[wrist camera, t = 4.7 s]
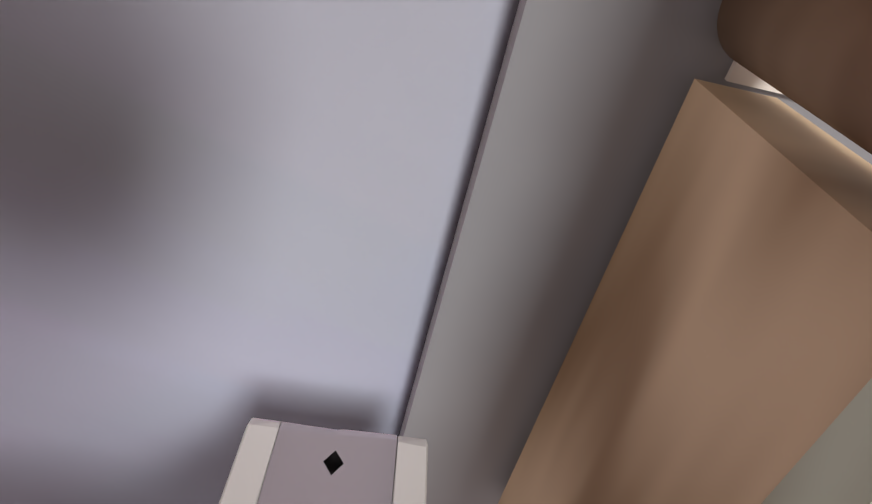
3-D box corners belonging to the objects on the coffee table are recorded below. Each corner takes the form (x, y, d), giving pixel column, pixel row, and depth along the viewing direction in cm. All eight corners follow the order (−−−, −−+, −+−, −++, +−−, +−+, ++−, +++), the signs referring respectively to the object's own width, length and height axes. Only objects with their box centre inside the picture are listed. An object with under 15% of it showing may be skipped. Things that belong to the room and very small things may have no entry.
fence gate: (751, -64, 7) (1325, 70, 2) (859, -36, 7) (1594, 140, 3) (490, 509, 13) (512, 842, 9) (549, 518, 13) (602, 850, 9)
